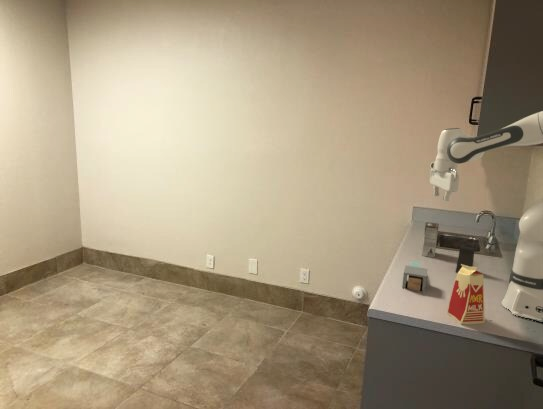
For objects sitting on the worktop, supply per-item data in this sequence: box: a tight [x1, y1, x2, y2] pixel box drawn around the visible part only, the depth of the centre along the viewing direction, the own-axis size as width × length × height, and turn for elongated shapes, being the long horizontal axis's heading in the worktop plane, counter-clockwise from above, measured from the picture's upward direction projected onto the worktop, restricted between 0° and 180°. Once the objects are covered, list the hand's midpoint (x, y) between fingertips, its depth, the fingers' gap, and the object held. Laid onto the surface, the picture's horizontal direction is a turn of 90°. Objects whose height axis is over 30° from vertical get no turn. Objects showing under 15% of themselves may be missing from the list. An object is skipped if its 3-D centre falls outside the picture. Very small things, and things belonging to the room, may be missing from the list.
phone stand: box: [455, 244, 476, 274], centre depth 183 cm, size 9×6×12 cm, turn 146°
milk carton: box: [446, 264, 486, 325], centre depth 138 cm, size 9×9×20 cm
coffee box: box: [421, 221, 440, 258], centre depth 205 cm, size 9×6×16 cm
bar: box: [409, 261, 423, 286], centre depth 176 cm, size 18×4×4 cm, turn 165°
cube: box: [406, 275, 422, 291], centre depth 164 cm, size 5×5×5 cm
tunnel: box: [401, 264, 428, 293], centre depth 165 cm, size 9×9×7 cm
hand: (440, 198), depth 171 cm, fingers open, 8 cm apart
